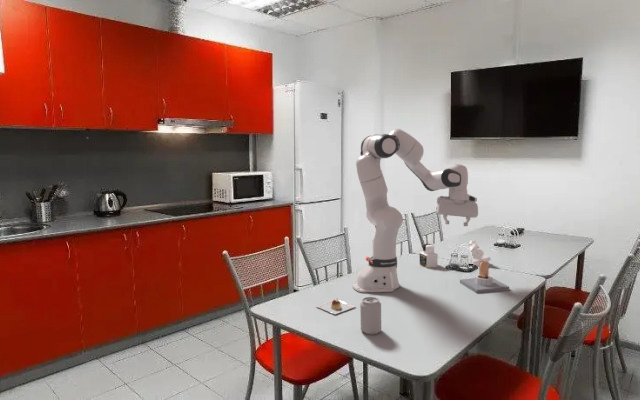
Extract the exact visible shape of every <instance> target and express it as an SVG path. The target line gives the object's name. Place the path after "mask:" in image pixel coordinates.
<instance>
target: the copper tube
mask: <svg viewBox="0 0 640 400" xmlns="http://www.w3.org/2000/svg"><path fill="white" fill-rule="evenodd" d="M489 262H490V261H488V262H487V261H480V262H479V267H478V269H479V272H478V275H479V278H482V279H488V276H489V271H490V270H489Z"/></svg>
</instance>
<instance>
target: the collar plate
mask: <svg viewBox="0 0 640 400" xmlns="http://www.w3.org/2000/svg"><path fill="white" fill-rule="evenodd" d="M459 284H461V285H463V286H464V287H466V288H468V289H469V290H471V291H473V292H475V293H476V294H483V293H492V292H500V291H501V292H502V291H503V292H504V291H510V286H509V285H507V284H505V283H503V282H501V281H499V280H497V279H495V278H494V277H493V276H492V275H489V276H488V279H482V278H479V274H476V275H475V277H474V278H465V279H464V278H463V279H459Z"/></svg>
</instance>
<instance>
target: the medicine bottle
mask: <svg viewBox="0 0 640 400" xmlns="http://www.w3.org/2000/svg"><path fill="white" fill-rule="evenodd" d="M438 255H439V254H438V253H437V252H435V245H434V244H432V243H424V244H423V245H422V251H420V252H419V265H420V266H421V267H424V268H426V269H429V268H436V267H437V268H438V262H439V260H438Z"/></svg>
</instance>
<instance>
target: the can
mask: <svg viewBox="0 0 640 400" xmlns="http://www.w3.org/2000/svg"><path fill="white" fill-rule="evenodd" d="M359 307H360V330H361V331H362V332H363V333H364V334H365V335H368V336H369V335H370V336H372V335H377V334H379V333H380V332H381V331H382V303H381V302H380V299H379V298H377V297H376V296H366V297H363V298H362V299H361V302H360V305H359Z"/></svg>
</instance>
